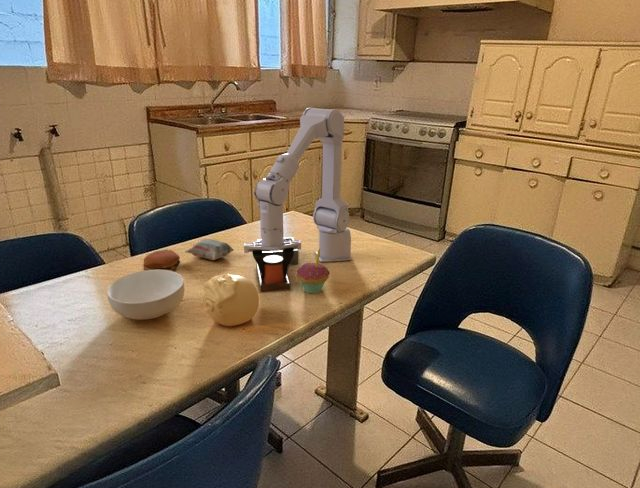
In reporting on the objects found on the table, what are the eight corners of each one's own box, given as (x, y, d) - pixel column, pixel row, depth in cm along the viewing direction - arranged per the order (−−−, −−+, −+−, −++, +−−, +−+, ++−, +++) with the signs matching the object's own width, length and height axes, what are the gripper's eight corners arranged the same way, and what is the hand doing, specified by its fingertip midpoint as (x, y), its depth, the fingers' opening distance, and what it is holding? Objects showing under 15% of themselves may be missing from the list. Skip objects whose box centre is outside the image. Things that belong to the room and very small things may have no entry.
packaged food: (214, 266, 131) (213, 250, 129) (185, 257, 137) (183, 242, 135) (234, 256, 138) (234, 241, 136) (206, 249, 144) (204, 234, 142)
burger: (141, 276, 124) (138, 260, 122) (148, 263, 133) (146, 248, 131) (178, 274, 126) (176, 259, 124) (183, 261, 134) (181, 246, 132)
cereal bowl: (111, 301, 111) (106, 275, 108) (182, 290, 117) (179, 265, 114) (111, 337, 96) (105, 307, 94) (191, 321, 102) (188, 293, 100)
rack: (282, 267, 131) (282, 261, 130) (289, 289, 118) (289, 283, 117) (256, 269, 130) (256, 263, 129) (260, 292, 116) (260, 285, 116)
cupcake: (334, 286, 120) (335, 243, 116) (320, 299, 113) (320, 255, 108) (305, 280, 123) (305, 238, 119) (290, 292, 116) (289, 249, 112)
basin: (293, 250, 143) (292, 237, 141) (298, 264, 133) (298, 250, 131) (258, 253, 141) (257, 239, 139) (260, 267, 131) (260, 252, 129)
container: (282, 278, 123) (281, 254, 121) (284, 286, 119) (284, 262, 116) (263, 279, 122) (262, 255, 120) (265, 288, 118) (264, 263, 115)
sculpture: (199, 314, 106) (195, 272, 102) (248, 302, 111) (246, 261, 107) (215, 337, 97) (211, 292, 92) (267, 323, 102) (265, 280, 98)
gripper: (243, 233, 110) (246, 284, 115) (302, 230, 112) (303, 279, 117) (242, 224, 116) (245, 272, 121) (298, 221, 119) (298, 268, 124)
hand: (273, 275), depth 120 cm, fingers closed on container, 5 cm apart
